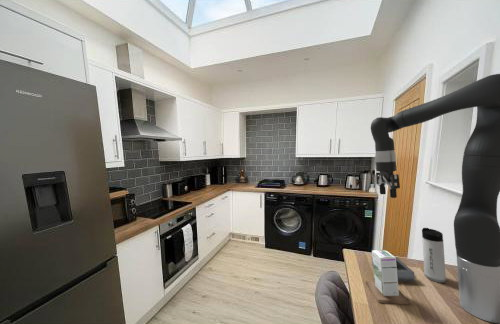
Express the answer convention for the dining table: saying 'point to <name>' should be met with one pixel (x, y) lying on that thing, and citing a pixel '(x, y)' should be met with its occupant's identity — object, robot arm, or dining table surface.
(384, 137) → the robot arm
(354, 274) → the dining table surface
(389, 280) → the syrup box
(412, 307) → the dining table surface
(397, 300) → the walnut board
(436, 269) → the travel mug
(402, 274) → the frame
